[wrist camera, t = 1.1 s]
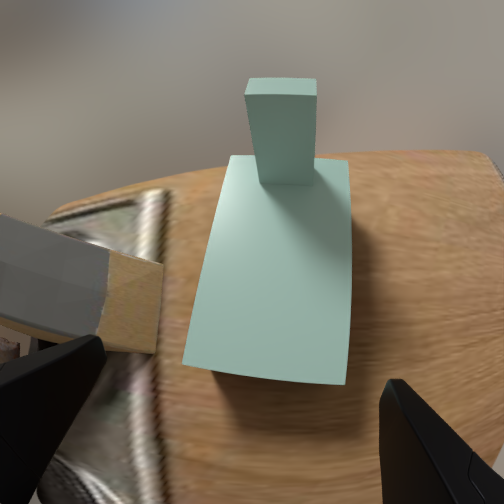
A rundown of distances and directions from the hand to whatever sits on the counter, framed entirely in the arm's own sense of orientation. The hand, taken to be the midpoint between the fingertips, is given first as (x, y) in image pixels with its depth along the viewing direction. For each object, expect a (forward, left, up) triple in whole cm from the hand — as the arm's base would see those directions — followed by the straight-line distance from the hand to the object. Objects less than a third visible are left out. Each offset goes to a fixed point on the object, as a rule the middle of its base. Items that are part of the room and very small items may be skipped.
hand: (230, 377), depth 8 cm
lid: (+6, -6, -10) cm, 13 cm away
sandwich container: (+15, +10, -14) cm, 22 cm away
